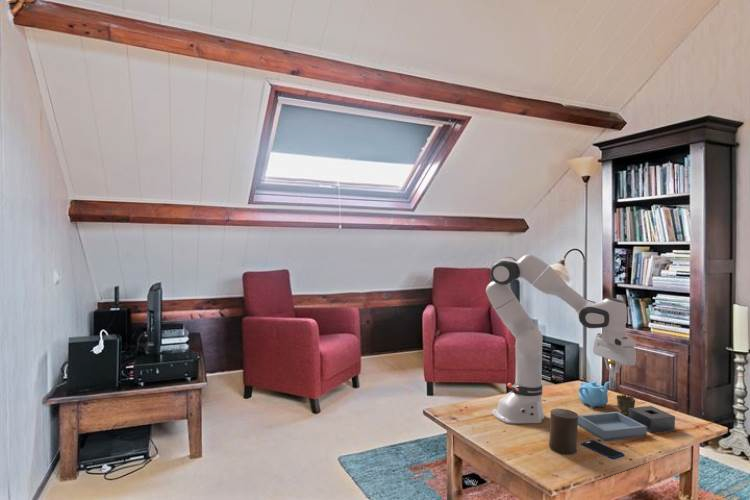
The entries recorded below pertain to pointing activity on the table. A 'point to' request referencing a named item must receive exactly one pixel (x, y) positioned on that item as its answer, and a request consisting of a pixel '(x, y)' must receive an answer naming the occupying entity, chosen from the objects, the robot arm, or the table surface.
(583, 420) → the tray
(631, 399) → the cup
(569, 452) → the pillar candle
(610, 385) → the pin
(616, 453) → the cell phone
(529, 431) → the table surface
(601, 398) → the teapot
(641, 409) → the block
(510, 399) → the robot arm
